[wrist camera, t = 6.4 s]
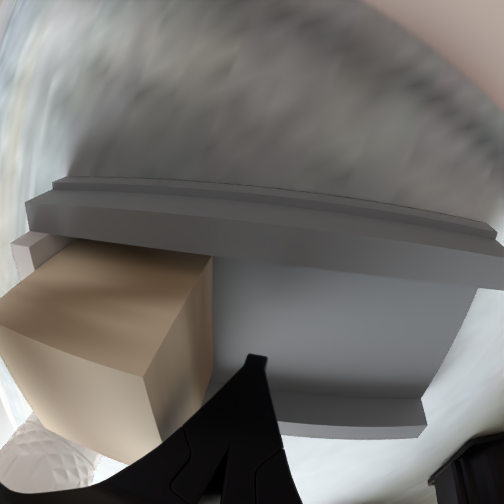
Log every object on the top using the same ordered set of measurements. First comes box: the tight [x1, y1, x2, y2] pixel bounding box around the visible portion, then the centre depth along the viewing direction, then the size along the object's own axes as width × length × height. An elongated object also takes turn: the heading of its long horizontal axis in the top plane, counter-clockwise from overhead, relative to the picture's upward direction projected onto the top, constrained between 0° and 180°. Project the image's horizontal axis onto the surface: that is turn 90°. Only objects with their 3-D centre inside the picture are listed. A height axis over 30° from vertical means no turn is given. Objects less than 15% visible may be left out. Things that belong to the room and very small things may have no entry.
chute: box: [10, 177, 504, 440], centre depth 10 cm, size 15×9×3 cm, turn 87°
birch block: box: [0, 238, 213, 465], centre depth 9 cm, size 5×5×5 cm
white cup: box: [0, 411, 103, 493], centre depth 15 cm, size 8×8×10 cm
